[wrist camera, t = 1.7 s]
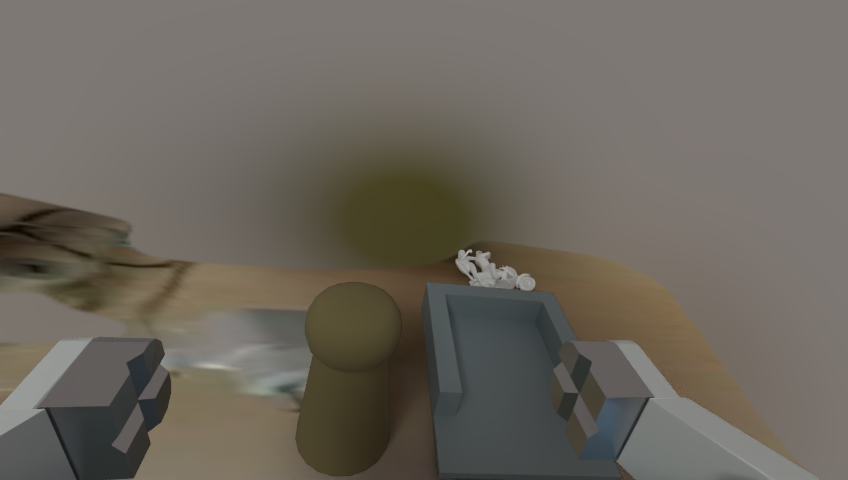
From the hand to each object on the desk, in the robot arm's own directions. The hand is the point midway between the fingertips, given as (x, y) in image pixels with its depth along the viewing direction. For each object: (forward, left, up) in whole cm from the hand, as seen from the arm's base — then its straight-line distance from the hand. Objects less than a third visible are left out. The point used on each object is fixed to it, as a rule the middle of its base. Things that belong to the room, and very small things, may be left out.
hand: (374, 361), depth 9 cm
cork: (-1, +11, -19) cm, 22 cm away
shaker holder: (+11, +16, -19) cm, 27 cm away
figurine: (+13, +30, -19) cm, 38 cm away
